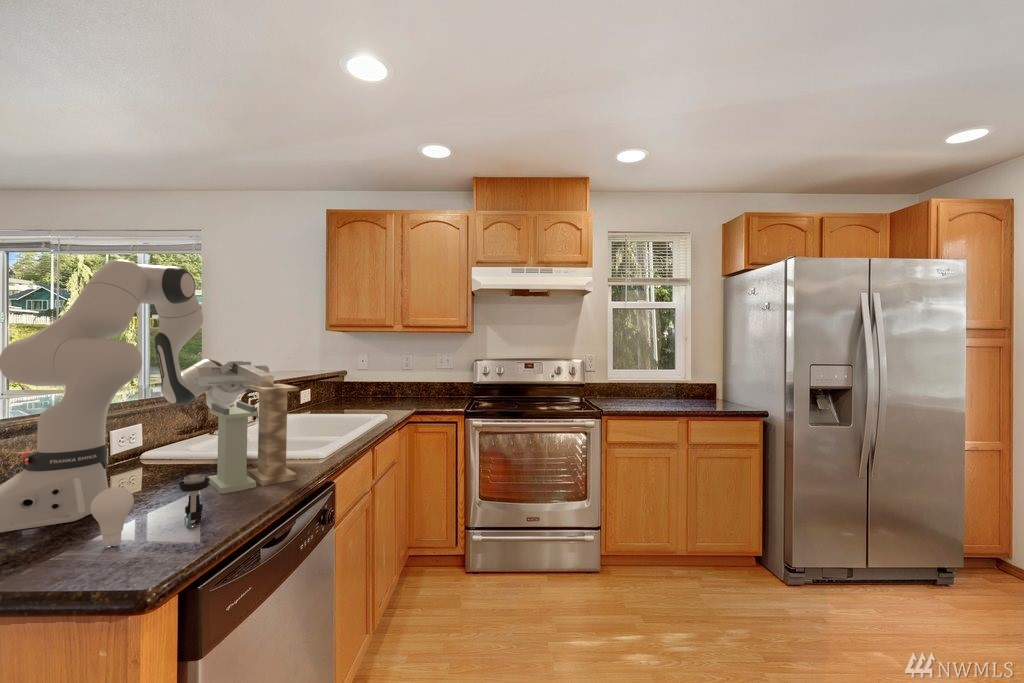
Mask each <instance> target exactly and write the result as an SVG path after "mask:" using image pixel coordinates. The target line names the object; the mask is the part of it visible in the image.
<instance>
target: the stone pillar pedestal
mask: <svg viewBox="0 0 1024 683" xmlns="http://www.w3.org/2000/svg"><path fill="white" fill-rule="evenodd" d="M299 388H300V387H299V386H294V385H289V384H284V383H273V386H265V387H260V386H258V385H248V389H251V390H255V391H256V392H258V429H257V430H258V435H257V436H258V438H257V440H258V441H257V444H258V445H257V467H256V468H250V469H247V475H248V476H249V477H250V478H252V479H253V480H255V481H256V484H258V485H260V486H261V487H265V486H269V485H275V484H280V483H285V482H290V481H296V480H298V473H296V472H294V471H293V470H291V469H289V468H287V438H288V437H287V434H288V432H287V431H288V430H287V429H288V426H287V425H288V392H299V391H300V390H299ZM255 391H254V392H255Z"/></svg>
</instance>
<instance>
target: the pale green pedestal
mask: <svg viewBox="0 0 1024 683" xmlns="http://www.w3.org/2000/svg"><path fill="white" fill-rule="evenodd" d="M208 409H209V410H208V411H209V414H211V415H213V416H215V417H217V419H218V420H217V464H216V465H217V471H216V472H217V473H216V474H215V475H214V474H213V475H209V476H207V478H209V479H210V481H209V482H208V484H210V485H211V486H212V487H213V488H214V489H215V490H216V491H217V492H218V491H219V492H218V493H219V494H220V493H221V494H220V495H224V494H228V493H229V492H230V493H233V492H239V491H244V490H249V488H250V489H254V487H255V488H257V482H256V481H254V480H253V479H252V478H250V477H249V476H248V475H247V470H248V469H247V467H248V466H247V465H248V418H249V417H258V411H256V406H255V405H252V404H248V403H246V402H243V401H241V400H240V401H238V400H237V401H235V406H230V407H229V408H227V407H224V406H222V405H219V404H217V403H212V408H211V409H210V408H208Z"/></svg>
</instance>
